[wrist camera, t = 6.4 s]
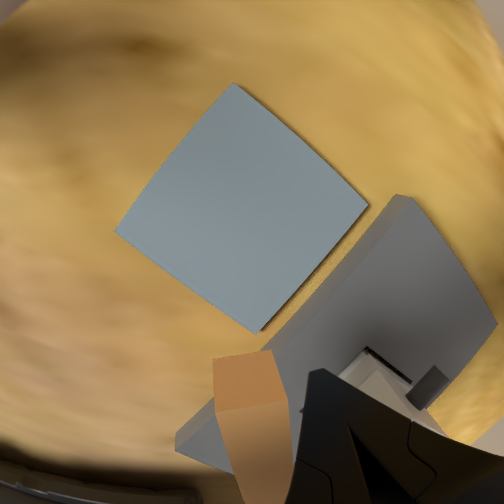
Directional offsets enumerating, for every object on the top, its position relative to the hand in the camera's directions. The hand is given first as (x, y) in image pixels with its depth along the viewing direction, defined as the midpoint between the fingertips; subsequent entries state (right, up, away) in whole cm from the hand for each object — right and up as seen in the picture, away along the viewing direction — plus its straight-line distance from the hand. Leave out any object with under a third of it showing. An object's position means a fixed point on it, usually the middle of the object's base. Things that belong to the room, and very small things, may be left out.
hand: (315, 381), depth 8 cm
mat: (-2, +5, +6) cm, 8 cm away
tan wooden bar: (-1, -6, +2) cm, 6 cm away
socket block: (+4, -4, +9) cm, 11 cm away
